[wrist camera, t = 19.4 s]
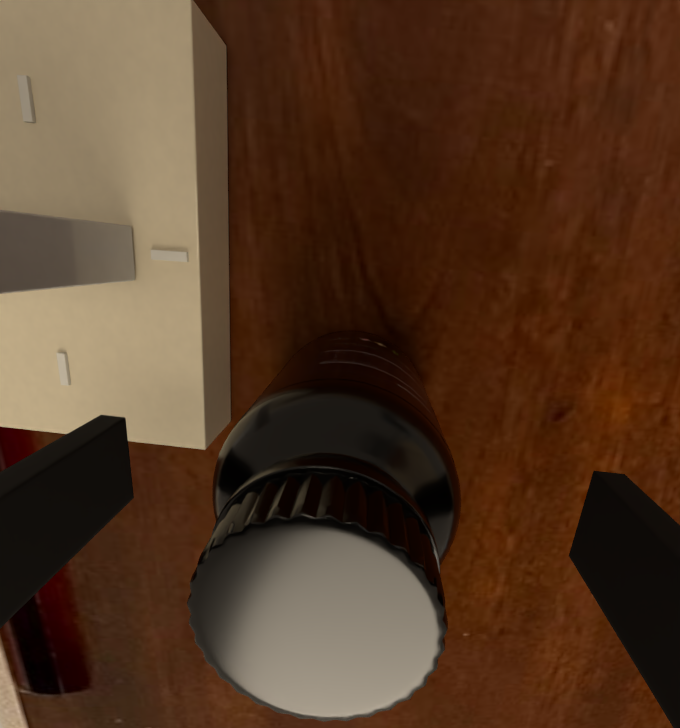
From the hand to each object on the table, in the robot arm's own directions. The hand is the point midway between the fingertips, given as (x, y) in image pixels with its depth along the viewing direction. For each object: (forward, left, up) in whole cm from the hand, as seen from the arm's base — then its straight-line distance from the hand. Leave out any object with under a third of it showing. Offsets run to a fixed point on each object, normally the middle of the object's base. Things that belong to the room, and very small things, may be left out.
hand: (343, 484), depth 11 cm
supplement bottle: (0, 0, -8) cm, 8 cm away
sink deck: (-6, -12, -8) cm, 16 cm away
